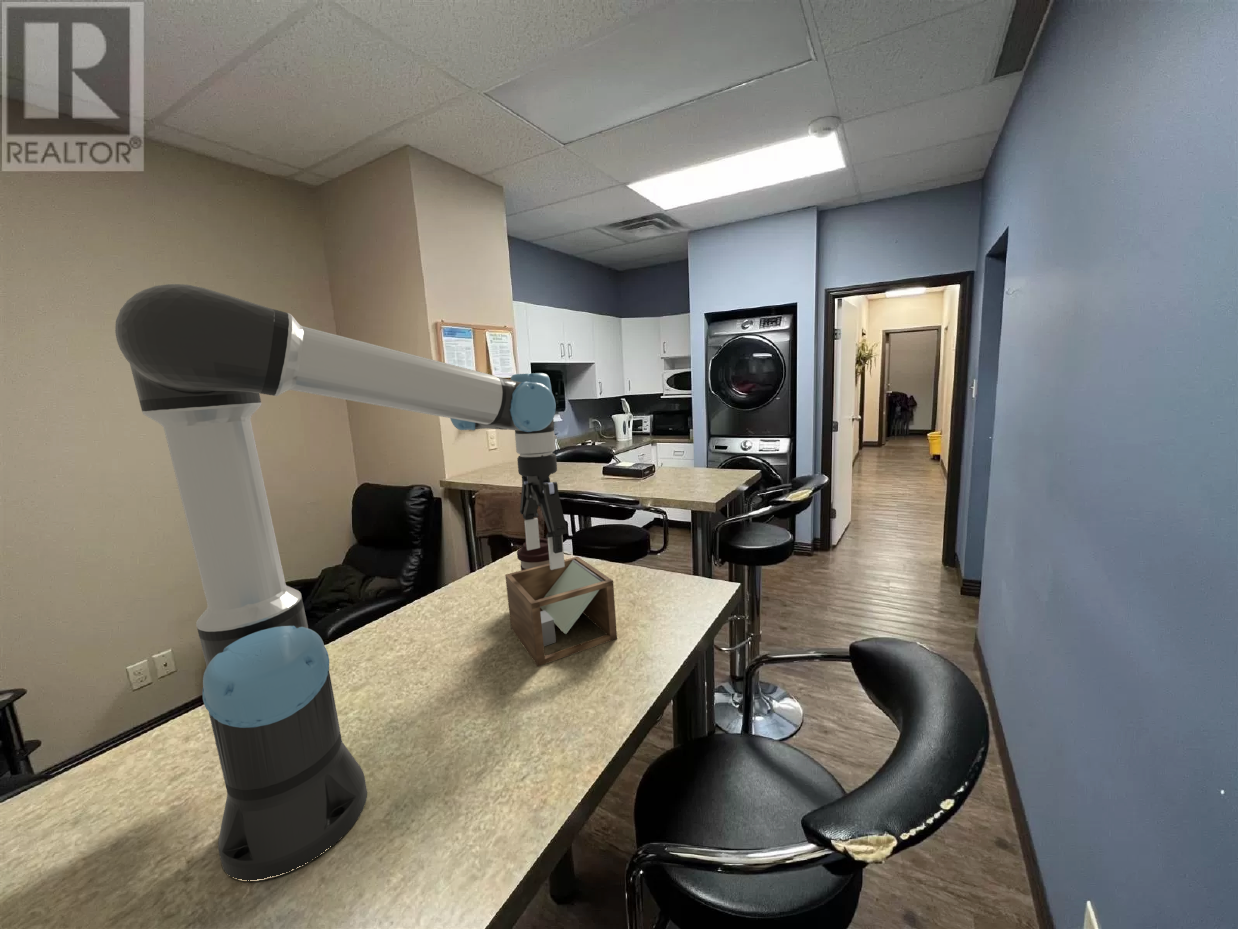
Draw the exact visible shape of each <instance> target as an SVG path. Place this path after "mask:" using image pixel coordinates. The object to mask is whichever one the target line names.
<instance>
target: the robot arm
mask: <svg viewBox="0 0 1238 929" xmlns="http://www.w3.org/2000/svg"><path fill="white" fill-rule="evenodd" d="M114 328H115V330H114V331H115V332H114V333H115V338H116V339H115V340H116V342H117V345H118V348H119V350H120V351H121V352H120V353H122V355H123V357H124V358H125V360H126V361H127V362H128V363H129V365H130V370H131V374H132V378H133V383H134V385H135V389H136V394H137V397H138V401H139V405H140V408H141V413H142V415H144V416H146V417H147V418H149V419H151V420H153V421H154V422H156V423H158V424H159V425H160V426H162V427H163V431H164V433H165V434H164V435H165V438H166V442H167V445H168V446H167V447H168V452H169V455H170V458H171V463H172V467H173V472H174V476H175V479H176V483H177V487H178V491H179V496H180V499H181V503H182V507H183V511H184V514H185V519H186V522H187V523H186V524H187V526H188V527H187V528H188V532H189V535H190V539H191V544H192V548H193V552H194V556H195V561H196V564H197V568H198V572H199V576H200V577H199V578H200V580H201V585H202V589H203V592H204V598H205V599H206V605H207V607H206V609H205V610H204V611H203V612H202V614H201V615H200V616H199V617H198V618H197V620H196V622H195V625H196V629H197V632H198V637H199V641H200V645H201V650H202V655H203V657H204V662H205V666H206V668H205V669H204V672H203V677H202V686H203V687H202V701H203V705H204V707H205V709H206V710H207V711H208V712H207V713H208V715H209V720H210V724H211V728H212V733H213V737H214V740H215V746H216V750H217V753H218V754H217V755H218V759H219V762H220V767H221V772H222V776H223V780H224V785H225V788H226V793H227V794H226V799H225V800H226V801H225V804H224V810H223V815H222V821H221V825H220V830H219V836H218V848H217V849H218V854H219V858H220V863H221V866H223V867H222V869H223V871H224V870H225V871H224V873H225V872H226V873H227V874H228V875H230V876H231V877H234V878H237V879H242V880H247V881H248V880H249V881H250V880H257V879H264V878H267V877H270V876H271V877H272V876H276V875H280V874H282V873H286V872H289V871H291V870H292V869H296V868H297V867H299V866H302V865H304V866H306V865H305V863H307V862H310V861H311V860H312V859H314V858H315V857H317V856H319V855H320V854H321V853H323V852H325V850H326V849H328V848H330V846H332V845H333V844H335V843H336V842H337V841H338V842H339V841H340V840H341V839H342V838H343V837H344V836H346V834H347V833H348V832H349V831H350V830H351V829H352V827H353V826H354V825H355V824H356V822H357V821H358V819H359V818H360V816H361V814H362V813H363V809H364V808H365V806H364V805H366V803H367V797H368V788H367V784H366V778H365V773H364V771H363V769H362V767H361V765H360V764H359V763H358V761H357V760H356V758H355V757H354V756H353V754H352V753H351V752H350V750H349V749H348V748H347V747H346V745H345V743H344V742H343V739H342V735H341V729H340V728H341V727H340V723H339V722H340V721H339V717H338V712H337V707H336V701H335V696H334V695H335V694H334V690H333V684H332V679H331V675H330V674H331V673H330V657H329V652H328V650H327V648H326V646H325V644H324V641H323V639H322V637H321V636H320V635H319V633H317V632H316V631H315V630H313V629H311V628H309V625H308V620H307V616H306V612H305V606H304V602H303V597H302V593H301V591H299V589H295V588H293V587H291V586H289V585H287V584H286V580H285V574H284V570H283V566H282V561H281V560H282V559H281V557H280V556H281V555H280V552H279V546H278V542H277V536H276V534H275V527H274V523H273V519H272V514H271V510H270V509H271V508H270V505H269V499H268V496H267V495H268V494H267V491H266V490H267V489H266V487H265V482H264V481H265V480H264V476H263V471H262V467H261V462H260V458H259V457H260V456H259V453H258V449H257V445H256V444H257V443H256V439H255V434H254V430H253V425H252V416H253V415H254V414H255V413H256V412H257V411H258V409H259V408H260V407H261V406H262V399H261V395H262V394H263V395H267V396H275V397H279V396H280V395H282V394H284V393H286V392H287V391H295V392H300V393H301V392H302V393H307V394H311V395H316V396H324V397H327V398H328V397H329V398H334V399H339V400H340V399H341V400H345V401H352V402H355V403H363V404H369V405H374V406H378V407H379V406H380V407H386V408H392V409H397V410H402V411H407V412H414V413H418V414H423V415H424V414H425V415H430V416H436V417H441V418H447V419H448V418H449V419H450V421H451V424H452V426H454V428H455V429H457V430H459V431H476V430H483V429H485V430H486V429H488V430H491V429H492V430H502V431H503V430H508V431H509V430H510V431H514V438H515V439H514V440H515V451H516V453H517V454H518V457H517V470H518V472H517V473H518V475H519V476H521V493H520V494H521V495H520V506H519V513H520V515H522V517H523V520H524V532H525V542H526V546H527V550H532V549H537V548H540V541H539V539H540V531H539V530H540V528H539V519H538V517H539V513H538V508H539V507H540V510H541V512H542V516H543V519H544V522H545V524H546V528H547V531H548V532H547V534H546V535H545V538H546V539H548V550H549V563H550V569H551V570H553V569H558V568H562V567H565V564H564V560H565V550H564V541H563V539H564V537H563V535H566V534H568V528H567V527H568V526H567V523H566V519H565V514H564V511H563V507H562V503H561V499H560V494H559V487H558V486H559V485H558V482H557V481H553V482H551V480H550V479H551V478H550V476H551V475H553V474H555V473H556V472H557V471H558V464H557V463H558V462H557V455H556V454H555V453H554V452H555V451H556V440H557V439H558V438H557V435H556V434H555V426H554V425H555V423H554V420H555V419H554V418H555V416H556V409H557V407H556V405H557V404H556V399H555V396H554V394H553V391H552V384H551V380H550V377H549V375H548V374H547V373H543V372H535V373H534V372H533V373H532V372H531V373H517V374H511V376H510V379H509V378H505V377H500V376H495V375H494V374H489V373H485V372H482V371H478V370H474V369H470V368H465V367H461V366H459V365H455V364H450V363H447V362H443V361H439V360H435V359H431V358H427V357H424V356H419V355H415V354H412V353H407V352H404V351H400V350H398V349H396V350H395V349H392V348H388V347H385V346H382V345H381V346H380V345H377V344H373V343H371V342H370V343H369V342H366V341H362V340H357V339H354V338H350V337H346V336H342V335H339V334H334V333H329V332H326V331H323V330H319V329H315V328H311V327H307V326H304V325H301V324H300V323H299V322H298V321H297V320H296V318H295V317H294V316H293V315H292V314H291V313H289V312H285V311H282V310H278V309H274V308H271V307H268V306H265V305H260V304H258V303H254V302H251V301H248V300H245V299H241V298H239V297H235V296H231V295H230V294H229V295H228V294H225V293H221V292H219V291H215V290H213V289H209V288H206V287H202V286H195V285H191V284H183V283H182V284H180V283H166V284H161V285H155V286H152V287H149V288H145V289H143V290H141V291H137V293H135V294H134V295H132V296H131V297H130V298H128V299H127V300H126V301H125V303H124V304H123V305H122V306H121V308H120V310H119V311H118V314H117V316H116V319H115V326H114ZM260 394H261V395H260ZM356 820H357V821H356ZM350 828H351V829H350ZM349 829H350V830H349ZM343 835H344V836H343ZM341 837H342V838H341ZM340 838H341V839H340ZM339 839H340V840H339ZM338 842H337V843H338ZM337 843H336V844H337ZM336 844H335V845H336ZM332 847H333V846H332ZM330 849H331V848H330ZM325 853H326V852H325ZM323 854H324V853H323ZM319 857H320V856H319ZM311 862H312V861H311ZM311 862H310V863H311ZM226 873H225V874H226ZM227 874H226V875H227ZM228 875H227V876H228ZM230 876H229V877H230ZM231 877H230V878H231Z"/></svg>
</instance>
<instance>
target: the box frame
mask: <svg viewBox="0 0 1238 929" xmlns="http://www.w3.org/2000/svg"><path fill="white" fill-rule="evenodd" d="M572 560H575V561H577V562H578V563H580V564H581V565H582V566H584V567H585V568H587V569H588V570H589V571H591V572H592V573H594V574H595V575H597V576H598V577H599V578H601V579H602V580H604V581H602V582H599V583H595V584H592V585H588V586H585V587H581V588H578V589H574V590H570V591H567V592H563V593H560V594H556V595H553V596H549V597H546V598H544V596H545V595H546V594H547V593H548V591H549V590H550V589H551V588H552V586H553V585H554V584H555V582H556V581H557V580H558V579H559V577H560V576H561V575H562V574H563V572H564V571H565V570H566V568H567V567H568V566H569V565H570V563H571V562H572ZM564 564H565V567H562V568H558V569H553V570H551V569H550V564H546V565H542V566H538V567H534V568H530V569H526V570H522V571H521V570H518V571H514V572H509V573H506V574H505V575H504V576H505V584H506V586H505V587H506V594H507V603H508V613H509V621H510V622H509V623H510V629H511V631H512V633H513V634H514V635H515V636H516V637H517V639H518V641H519V642H520V643H521V645H522V647H523V648H524V649H525V650H526V652H527V653H528V654H529V656H530V658H531V659H532V660H533V662H534V663H535V665H536V666H537V667H540V666H543V665H547V664H549V663H551V662H555V661H557V660H560V659H563V658H566V657H568V656H571V655H574V654H576V653H577V654H578V653H580V652H582V651H586V650H589V649H591V648H594V647H596V646H599V645H603V644H606V643H608V642H610V641H611V642H612V641H613V640H617V639H618V634H617V633H618V632H617V620H616V619H617V616H616V604H615V601H616V600H615V588H614V587H615V586H614V580H613V579H612V578H610V577H609V576H607V575H605V573H602V572H601V571H600V570H598V569H597V568H595V567H594V566H593V565H591V564H590V563H588V562H587V561H586V560H584V559H582V558H581V557H579V556H574V557H570V558H566V559H564ZM599 589H600V590H599ZM596 590H599V591H598V592H597V594H596V595H595V596H594V598H593V599H592V600H591V602H590V603H589V604H588V606H587V607H586V608H585V610H584V611H583V612H582V614H583V615H584V616H586V617H587V618H588V619H589V620H590V621H591V622H592V623H593V624H594V625H595V626H597V627H598V629H600V630H601V631H602V632H603V633H604V634H603V635H601V636H599V637H595V638H592V639H590V640H587V641H586V640H585V641H584V642H582V643H578V644H575V645H572V646H569V647H566V648H564V649H561V650H558V651H555V652H552V653H550V654H546V655H545V646H544V644H543V634H542V624H541V613H540V611H543V610H542V609H541V608H540V607H541V606H545V605H548V604H551V603H555V602H558V601H562V600H565V599H569V598H572V597H575V596H579V595H582V594H586V593H589V592H593V591H596Z"/></svg>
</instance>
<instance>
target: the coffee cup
mask: <svg viewBox="0 0 1238 929" xmlns="http://www.w3.org/2000/svg"><path fill="white" fill-rule="evenodd" d="M539 541H540V548H537V549H532V550H527V546H526V541H525V542H523V544H522V546H521V547H519V548H518V549H517V551H516V556H517V559H518V560H519V561H520V571H522V570H526V569H530V568H534V567H538V566H542V565H546V564H550V563H549V550H548V538H544V537H543V538H542V537H541V538H540V537H539Z"/></svg>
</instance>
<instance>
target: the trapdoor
mask: <svg viewBox="0 0 1238 929" xmlns="http://www.w3.org/2000/svg"><path fill="white" fill-rule="evenodd" d="M602 581H604V580H602V579H601V578H599V577H598V576H597V575H595V574H594V573H592V572H591V571H589V570H588V569H587V568H585V567H584V566H582V565H581V564H580V563H578V562H577V561H575V560H572V562H571V563H570V565H569V566H568V567H567V568H566V570H565V571H564V572H563V574H562V575H561V576H560V577H559V579H558V580H557V581H556V582H555V584H554V585H553V586H552V588H551V589H550V590H549V591H548V593H547V594H546V595H545V596H544V598H546V597H549V596H553V595H556V594H560V593H563V592H567V591H570V590H574V589H578V588H581V587H585V586H588V585H592V584H595V583H599V582H602ZM599 590H600V589H599ZM599 590H596V591H593V592H589V593H586V594H582V595H579V596H575V597H572V598H569V599H565V600H562V601H558V602H555V603H551V604H548V605H545V606H541V607H540V608H541V609H542V610H543V611H544V610H545V611H546V612H547V613H548V614H549V615H550V616H551V617H552V618H553V619H554V625H555V626H557V627H558V629H560V631H561V633H562V632H563V633H564V634H565V635H567V633H569V631H570V629H572V628H573V626H574V625H575V624H576V622H577V621H578V619H580V616H581V615H582V614H583V611H584V610H585V608H586V607H587V606H588V604H589V603H590V602H591V600H592V599H593V598H594V596H595V595H596V594H597V592H598V591H599Z"/></svg>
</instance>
